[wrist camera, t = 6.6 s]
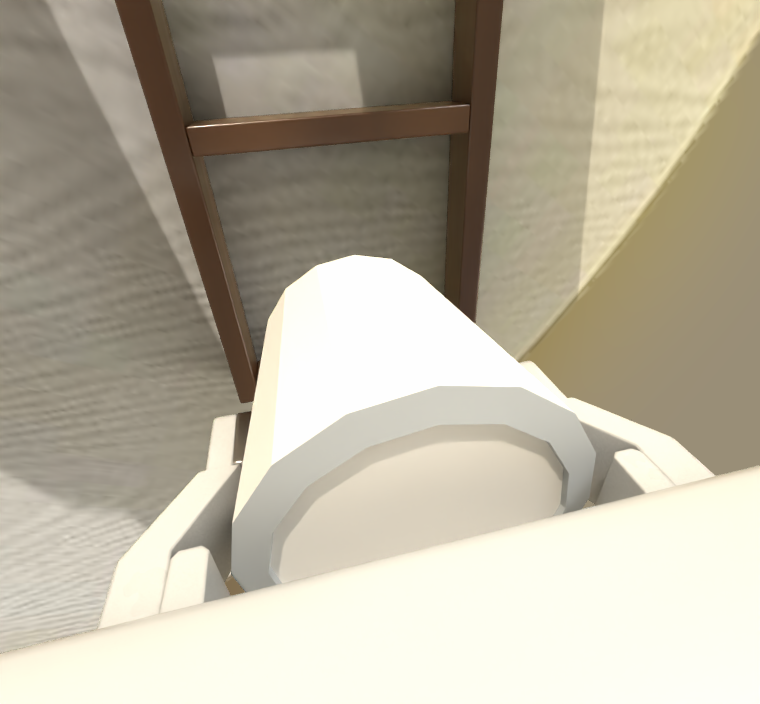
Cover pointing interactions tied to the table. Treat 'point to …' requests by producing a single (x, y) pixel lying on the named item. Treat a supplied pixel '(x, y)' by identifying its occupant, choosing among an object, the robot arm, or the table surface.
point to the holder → (319, 128)
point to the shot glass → (391, 429)
